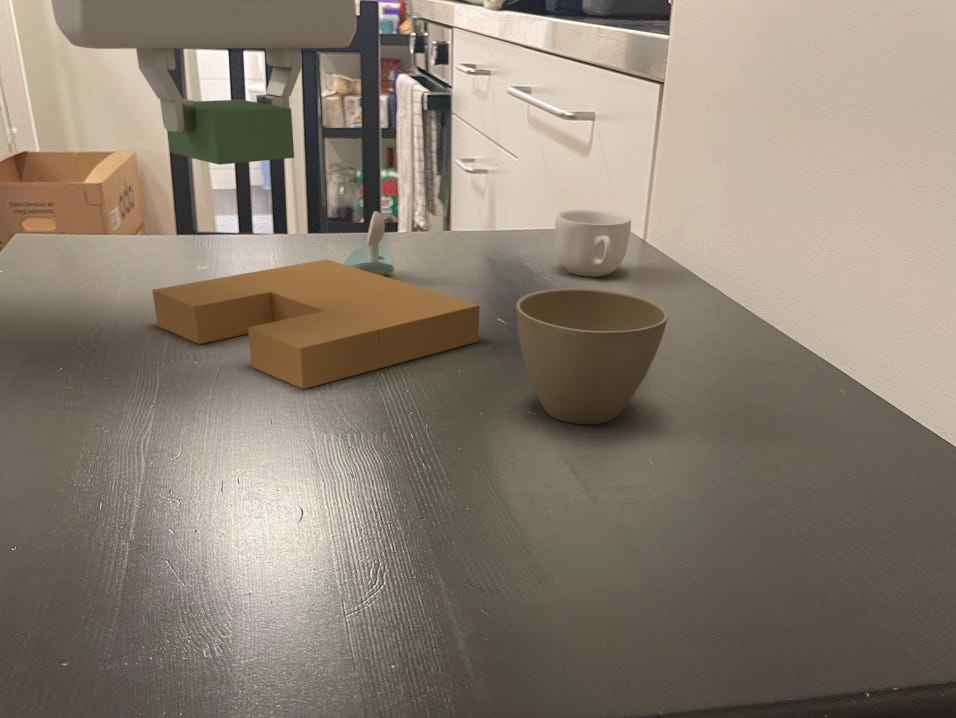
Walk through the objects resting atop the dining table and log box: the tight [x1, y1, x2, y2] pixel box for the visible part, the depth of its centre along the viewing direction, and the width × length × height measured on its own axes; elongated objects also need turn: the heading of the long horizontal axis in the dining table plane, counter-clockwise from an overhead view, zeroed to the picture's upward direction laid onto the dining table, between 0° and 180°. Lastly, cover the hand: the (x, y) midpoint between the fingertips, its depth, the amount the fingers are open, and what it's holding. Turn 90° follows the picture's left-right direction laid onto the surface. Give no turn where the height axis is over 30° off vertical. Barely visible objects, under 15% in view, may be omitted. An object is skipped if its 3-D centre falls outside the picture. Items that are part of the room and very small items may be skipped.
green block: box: [166, 99, 295, 166], centre depth 65 cm, size 6×6×3 cm
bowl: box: [515, 287, 669, 425], centre depth 65 cm, size 10×10×7 cm
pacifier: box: [344, 210, 395, 276], centre depth 95 cm, size 7×6×6 cm
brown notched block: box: [152, 259, 481, 390], centre depth 80 cm, size 20×18×3 cm
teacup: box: [554, 209, 632, 277], centre depth 100 cm, size 10×8×5 cm
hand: (228, 128), depth 65 cm, fingers closed on green block, 6 cm apart
